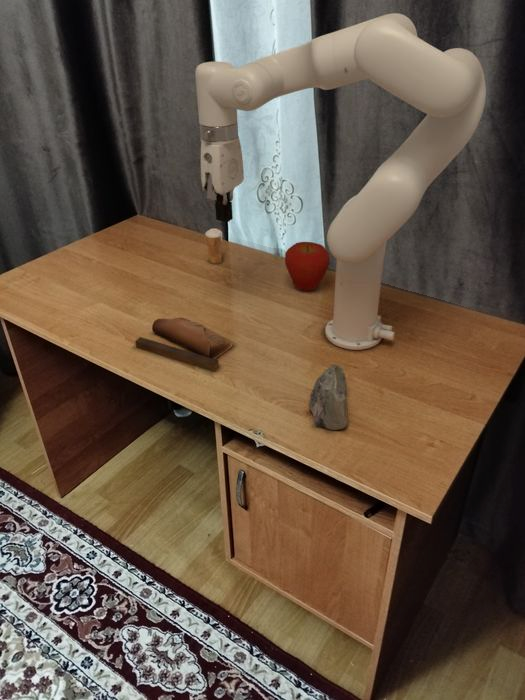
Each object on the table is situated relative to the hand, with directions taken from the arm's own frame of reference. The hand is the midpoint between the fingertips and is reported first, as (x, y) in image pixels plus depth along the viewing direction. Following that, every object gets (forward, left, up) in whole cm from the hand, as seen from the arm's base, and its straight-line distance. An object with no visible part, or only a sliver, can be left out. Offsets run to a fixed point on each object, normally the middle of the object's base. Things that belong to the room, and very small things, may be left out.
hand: (224, 219), depth 124 cm
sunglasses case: (+1, +14, -23) cm, 27 cm away
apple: (-12, -18, -23) cm, 32 cm away
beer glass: (+17, -21, -23) cm, 36 cm away
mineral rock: (-35, +22, -23) cm, 47 cm away
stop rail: (+1, +21, -23) cm, 31 cm away
